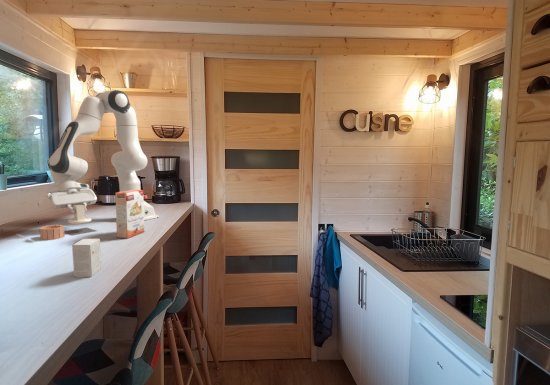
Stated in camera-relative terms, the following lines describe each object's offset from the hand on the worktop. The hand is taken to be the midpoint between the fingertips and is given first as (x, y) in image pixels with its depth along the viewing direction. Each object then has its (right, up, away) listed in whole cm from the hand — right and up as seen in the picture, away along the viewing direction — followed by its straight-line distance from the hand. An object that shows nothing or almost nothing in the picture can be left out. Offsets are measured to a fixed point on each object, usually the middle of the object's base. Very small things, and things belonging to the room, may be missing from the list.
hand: (79, 212), depth 171 cm
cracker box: (+26, -11, -3) cm, 28 cm away
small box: (+33, -17, -55) cm, 66 cm away
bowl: (-6, -11, -11) cm, 17 cm away
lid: (-1, -5, +1) cm, 5 cm away
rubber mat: (-1, -10, +1) cm, 10 cm away
